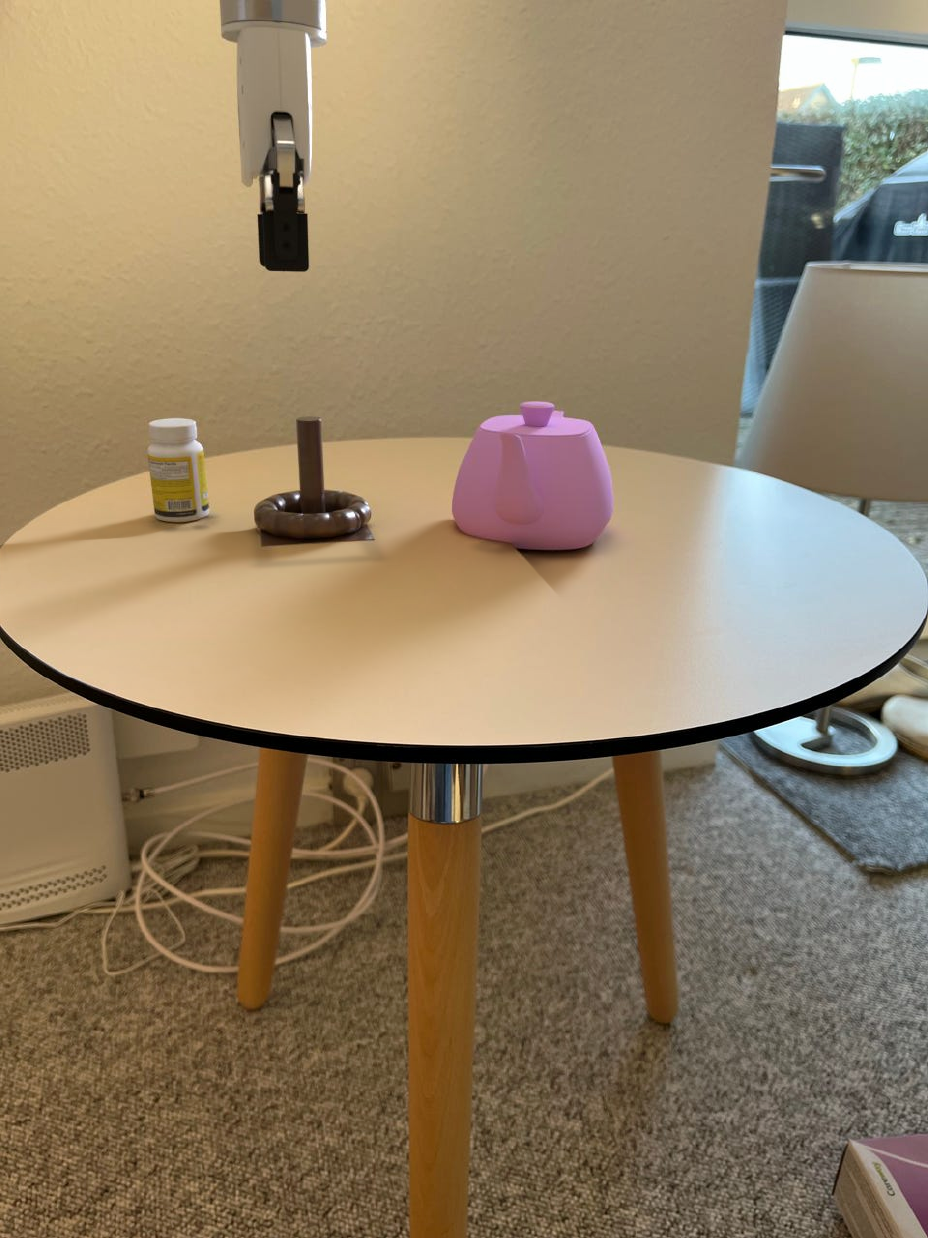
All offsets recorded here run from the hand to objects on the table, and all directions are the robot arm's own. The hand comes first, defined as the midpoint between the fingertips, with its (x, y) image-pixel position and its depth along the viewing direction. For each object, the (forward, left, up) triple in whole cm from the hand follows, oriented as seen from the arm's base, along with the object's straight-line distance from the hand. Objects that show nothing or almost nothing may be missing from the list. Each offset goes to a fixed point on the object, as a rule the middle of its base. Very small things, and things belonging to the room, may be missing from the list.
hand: (283, 268), depth 77 cm
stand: (+1, -3, -21) cm, 21 cm away
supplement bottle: (-10, +6, -21) cm, 24 cm away
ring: (+1, -3, -19) cm, 19 cm away
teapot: (+19, -6, -21) cm, 29 cm away
